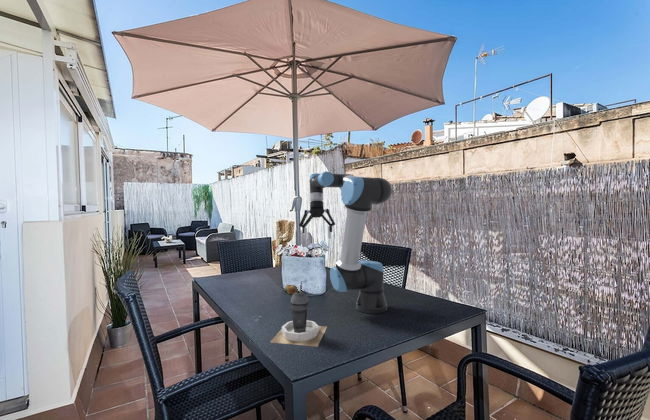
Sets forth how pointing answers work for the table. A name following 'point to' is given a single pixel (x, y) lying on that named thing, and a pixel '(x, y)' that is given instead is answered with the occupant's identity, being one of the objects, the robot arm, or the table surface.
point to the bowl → (310, 333)
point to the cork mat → (313, 342)
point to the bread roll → (291, 289)
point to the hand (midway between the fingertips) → (317, 238)
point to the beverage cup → (299, 310)
